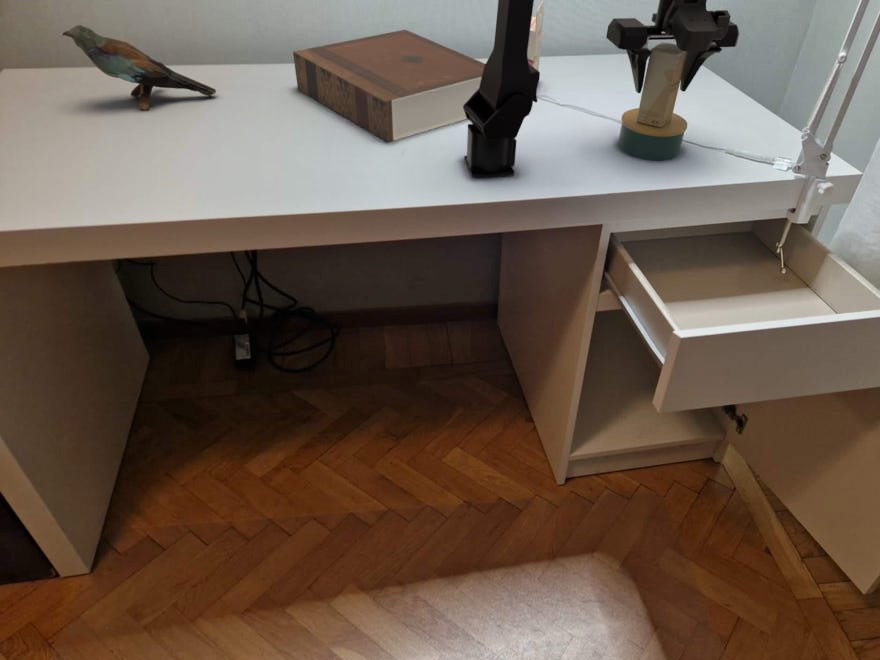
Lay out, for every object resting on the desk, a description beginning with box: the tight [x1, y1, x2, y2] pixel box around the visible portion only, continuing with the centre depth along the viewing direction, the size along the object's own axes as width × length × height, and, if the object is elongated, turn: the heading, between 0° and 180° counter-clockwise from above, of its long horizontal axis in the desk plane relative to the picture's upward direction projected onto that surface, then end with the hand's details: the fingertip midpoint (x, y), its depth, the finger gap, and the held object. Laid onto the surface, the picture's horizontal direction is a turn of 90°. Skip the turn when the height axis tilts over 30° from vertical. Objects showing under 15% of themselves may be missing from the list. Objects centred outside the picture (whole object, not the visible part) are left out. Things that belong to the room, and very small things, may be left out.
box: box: [637, 41, 687, 128], centre depth 106 cm, size 5×4×11 cm
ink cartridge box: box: [527, 0, 545, 71], centre depth 126 cm, size 9×5×15 cm, turn 168°
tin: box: [617, 107, 688, 161], centre depth 111 cm, size 10×10×4 cm
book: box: [292, 29, 486, 143], centre depth 122 cm, size 24×28×6 cm
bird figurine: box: [61, 24, 217, 111], centre depth 115 cm, size 13×10×20 cm
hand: (660, 91), depth 107 cm, fingers open, 7 cm apart
